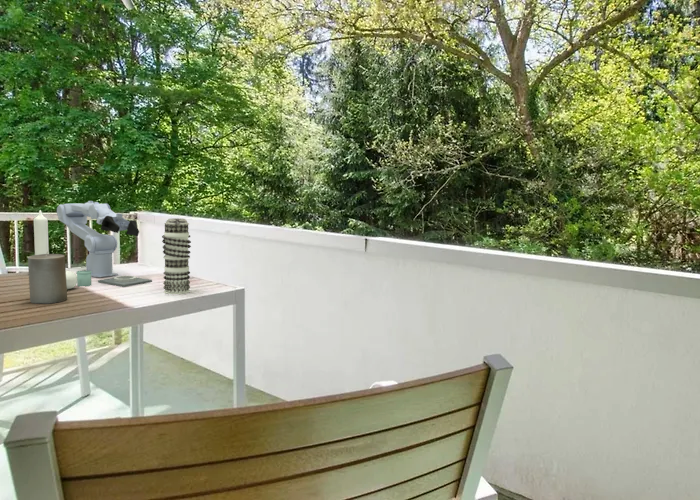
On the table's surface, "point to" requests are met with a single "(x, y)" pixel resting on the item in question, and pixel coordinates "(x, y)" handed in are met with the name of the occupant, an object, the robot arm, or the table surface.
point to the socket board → (124, 281)
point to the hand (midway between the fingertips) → (128, 231)
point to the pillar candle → (47, 278)
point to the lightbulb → (71, 279)
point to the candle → (41, 234)
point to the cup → (84, 278)
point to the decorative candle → (176, 256)
